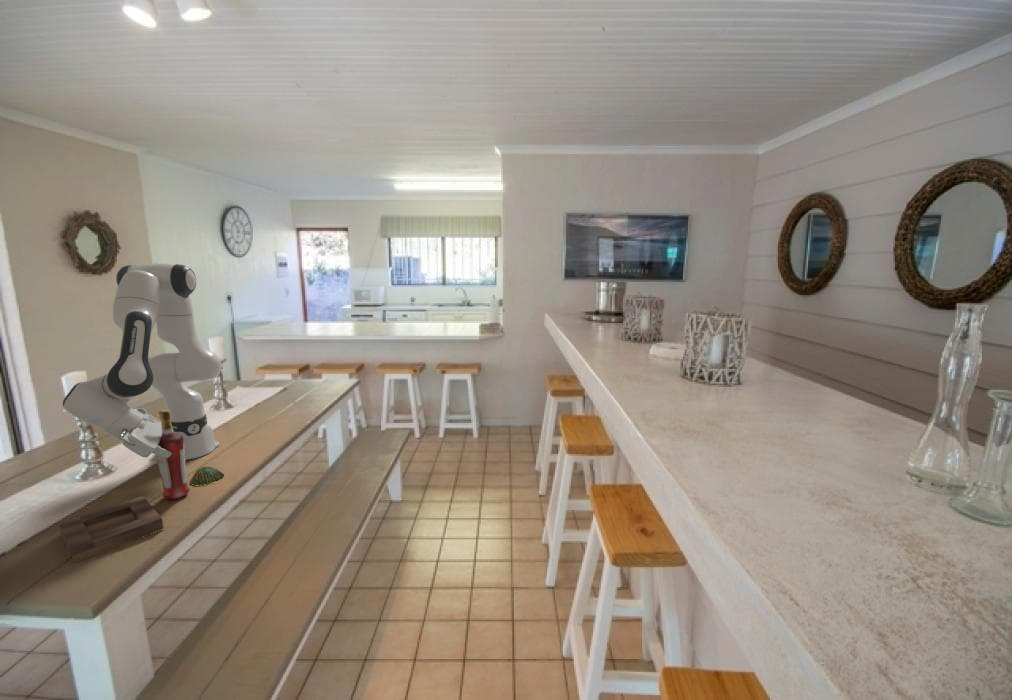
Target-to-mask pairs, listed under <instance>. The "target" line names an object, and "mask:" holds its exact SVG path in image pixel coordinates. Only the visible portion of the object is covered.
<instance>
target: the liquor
mask: <svg viewBox="0 0 1012 700" xmlns="http://www.w3.org/2000/svg"><path fill="white" fill-rule="evenodd" d="M158 414H159V415H158V416H159V419H160V421H161V423H162V436H161V440H160V442H159V443H158V445H159V446H161V448H163V449H166V450H167V449H168V450H170V451H172V454H171V455H170V456H169V457H168V458H165V457H164V456H161V455H156V454H155V455H156V461H157V465H158V468H159V472H160V478H161V482H162V483H161V485H162V490H163V494H162V497H163V498H165V499H167V500H169V499H170V500H171V501H174V500H173V499H176V500H179V499H182V498H183V496H184V497H186V495H187V494H188V493H189V492H190V490H191V489H190V487H189V486H188V478H187V467H186V460H185V449H184V438H183V436H182V435H179V434H174V431H173V428H172V424H171V420H170V419H171V413H170V410H167V409H163V410H160V411H159V412H158ZM181 497H182V498H181ZM178 498H179V499H178ZM170 500H169V501H170Z"/></svg>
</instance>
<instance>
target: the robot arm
mask: <svg viewBox="0 0 1012 700" xmlns="http://www.w3.org/2000/svg"><path fill="white" fill-rule="evenodd" d="M115 279H116V284H117V289H116V292H115V297H114V301H113V307H112V319H113V322H114V324H115V325H116V326H117V327H118V328H119V329H121V330H122V336H121V343H120V344H121V345H120V351H119V352H120V353H119V358H118V359H117V361H116V362H115V364H114V365H113V366H112V367H111V368H110V370H109V371H108V373H107V374H104V375H102V376H99V377H96V378H93V379H90V380H86V381H83V382H82V381H81V382H80V381H79V382H78V383H75V384H74V385H73V387H71V389H70V390H69V392H68V393H67V394H66V395H65V397H64V399H63V401H62V406H63V407H62V408H63V409H64V410H65V411H66V412H68V413H69V414H71V416H73V417H75V418H77V419H79V420H80V421H82V422H84V423H86V424H88V425H91V426H93V427H94V426H95V427H96V428H98V429H99V430H100V431H101V432H103V433H104V434H106V435H108V436H110V437H113V438H114V439H116V440H117V441H120V442H122V443H121V444H122V445H123V446H124V447H125V448H127V449H128V450H129V451H131V452H133V453H134V454H136V455H138V456H140V457H142V458H149V457H150V456H151V455H152V454H154V455H161V456H164V457H165V458H168V457H169V456H170V455H171V454H172V451H170V450H168V449H167V450H166V449H163V448H161V446H159V445H158V443H159V442H160V440H161V436H162V423H161V419H160V420H159V418H157V417H155V416H153V415H151V414H150V413H148V411H147V410H146V409H144V408H143V407H139V408H132V407H131V406H129V405H128V402H130V401H132V400H135V399H136V398H137V397H138V396H140V395H142V394H143V393H145V392H147V391H148V390H149V389H150V388H151V387H153V388H154V389H156V390H157V391H158V392H159V394H160V395H161V396H162V398H163V399H164V402H165V406H166V410H170V413H171V419H170V420H171V424H172V428H173V431H174V434H179V435H182V436H183V438H184V449H185V461H187V460H191V459H192V460H193V459H197V458H201V457H203V456H206V455H208V454H211V452H213V451H214V449H216V448H217V447H219V446H220V445H221V444H220V442H219V441H216V440H215V434H214V430H213V427H212V426H211V425H209V424H208V417H207V414H206V413H205V405H204V399H203V395H201V394H200V393H199V392H198V391H196V390H193V389H190V388H189V387H187V386H186V385H185V384H184V383H186V382H187V383H191V382H193V383H194V382H204V381H207V380H212V379H216V378H217V377H218V376H219V375H220V373H221V370H222V367H223V366H222V361H221V358H220V357H219V356H218V355H217V354H216V353H215V352H213V351H211V350H209V349H208V348H207V347H205V345H203V344H202V342H201V341H200V339H199V337H198V334H197V330H196V325H195V317H194V312H193V311H194V309H193V305H192V300H191V298H190V295H191V294H193V292H194V291H195V289H196V287H197V276H196V274H195V272H194V271H193V269H192V268H191V267H190V266H187V265H185V264H178V263H176V264H171V263H170V264H169V263H157V262H156V263H149V264H146V263H145V264H144V263H143V264H129V265H124V266H122V267H121V268H120V269H118V271H117V273H116V278H115ZM155 324H156V331H157V336H158V337H159V338H160V340H162V341H163V342H165V343H168V344H171V345H173V346H175V347H176V348H177V351H178V352H168V353H167V352H166V353H165V352H164V353H156V354H150V355H149V352H150V341H151V334H152V331H153V329H154V327H155Z"/></svg>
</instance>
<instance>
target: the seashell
mask: <svg viewBox="0 0 1012 700" xmlns="http://www.w3.org/2000/svg"><path fill="white" fill-rule="evenodd" d="M224 475H225V474H224V473H223V472H221V471H220V470H219V469H217V468H215V467H212V466H202V467H200V468H197V469H196V471H195V472H194V474H193V476H192V478H191V479H190V480H189V481H188V483H189V482H190V484H193V485H204V484H209V483H212V482H215V481H218V480H220V479H222V478H223V477H224ZM224 478H225V477H224ZM224 478H223V479H224ZM223 479H222V480H223ZM220 481H221V480H220ZM218 482H219V481H218ZM190 484H189V485H190ZM212 484H213V483H212ZM193 485H192V486H193ZM209 485H210V484H209Z"/></svg>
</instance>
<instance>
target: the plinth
mask: <svg viewBox="0 0 1012 700" xmlns="http://www.w3.org/2000/svg"><path fill="white" fill-rule="evenodd" d="M59 527H60V528H59V529H60V532H61V535H62V538H63V541H64V543H65V545H66V547H67V551H68V552H69V555H70V556H71V559H72V561H73V563H74V564H76V563H79V562H81V561H83V560H86V559H89V558H92V557H95V556H97V555H100V554H103V553H105V552H108V551H110V550H113V549H116V548H119V547H121V546H123V544H124V545H126V543H127V544H129V543H131V542H130V541H132V542H134V541H133V540H135V541H137V540H139V539H138V538H140V539H142V538H141V537H143V536H145V537H147V536H146V535H148V536H150V535H149V534H151V533H153V532H155V531H158V530H161V529H163V528H164V523H163V517H162V516H161V515H160V513H158V512H157V510H156V509H155V508H154V507H153V506H152V504H151V503H150V502H149V501H148V500H147V499H146V497H145V496H144V495H142V496H139V497H136V498H133V499H132V498H131V499H129V500H126V501H123V502H121V503H117V504H113V505H111V506H108V507H105V508H101V509H99V510H96V511H95V510H94V511H92V512H89V513H86V514H82V515H80V516H76V517H73V518H70V519H67V520H63V521H60V522H59ZM161 531H162V530H161ZM153 534H154V533H153ZM151 535H152V534H151ZM143 538H144V537H143ZM136 539H137V540H136ZM128 542H129V543H128ZM120 545H121V546H120ZM118 546H119V547H118ZM115 547H116V548H115Z"/></svg>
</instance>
